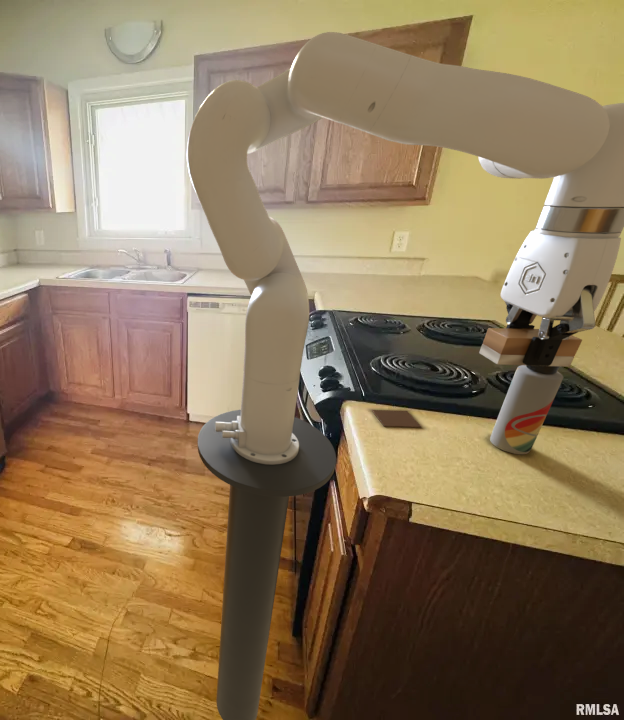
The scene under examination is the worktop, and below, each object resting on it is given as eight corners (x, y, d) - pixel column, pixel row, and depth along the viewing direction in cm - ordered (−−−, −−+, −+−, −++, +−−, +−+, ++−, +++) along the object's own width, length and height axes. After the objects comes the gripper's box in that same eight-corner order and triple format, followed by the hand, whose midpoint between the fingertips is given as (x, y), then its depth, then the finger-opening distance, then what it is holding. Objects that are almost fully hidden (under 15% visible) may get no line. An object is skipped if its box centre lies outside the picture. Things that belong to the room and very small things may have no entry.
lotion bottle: (533, 458, 68) (581, 353, 60) (491, 449, 71) (532, 347, 63) (526, 441, 73) (570, 341, 64) (486, 433, 76) (524, 336, 67)
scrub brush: (497, 364, 55) (507, 338, 53) (478, 353, 58) (488, 327, 57) (569, 366, 54) (582, 339, 52) (546, 354, 57) (558, 329, 56)
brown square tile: (383, 426, 79) (384, 425, 79) (371, 410, 84) (371, 409, 84) (421, 427, 78) (421, 426, 78) (406, 411, 83) (407, 410, 83)
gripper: (499, 216, 56) (459, 335, 64) (608, 230, 41) (538, 384, 49) (558, 215, 55) (510, 336, 63) (691, 229, 40) (607, 386, 48)
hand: (523, 356), depth 56 cm, fingers closed on scrub brush, 4 cm apart
